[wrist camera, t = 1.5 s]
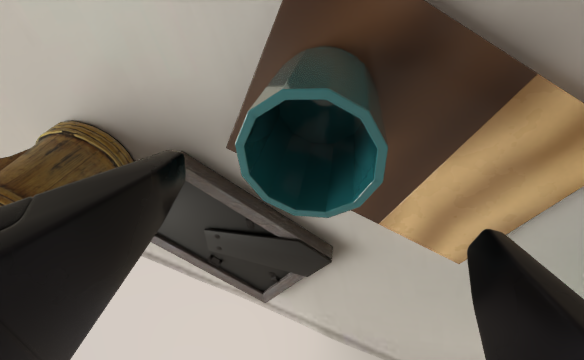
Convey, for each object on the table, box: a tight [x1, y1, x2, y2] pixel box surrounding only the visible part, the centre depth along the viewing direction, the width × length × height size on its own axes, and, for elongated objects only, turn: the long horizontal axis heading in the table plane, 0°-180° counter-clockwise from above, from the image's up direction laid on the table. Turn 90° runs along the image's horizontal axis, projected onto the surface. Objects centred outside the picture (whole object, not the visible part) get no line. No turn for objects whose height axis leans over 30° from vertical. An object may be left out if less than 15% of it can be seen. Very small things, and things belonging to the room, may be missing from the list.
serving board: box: [226, 0, 584, 264], centre depth 21 cm, size 24×15×1 cm, turn 64°
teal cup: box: [235, 46, 388, 218], centre depth 16 cm, size 7×7×8 cm
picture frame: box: [151, 151, 333, 303], centre depth 31 cm, size 13×2×18 cm
